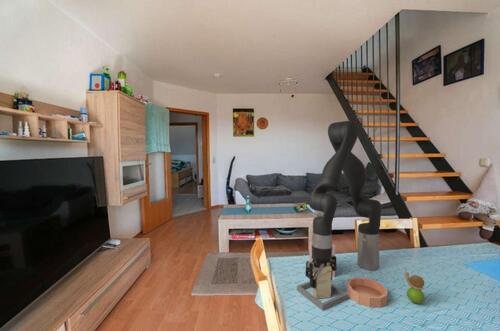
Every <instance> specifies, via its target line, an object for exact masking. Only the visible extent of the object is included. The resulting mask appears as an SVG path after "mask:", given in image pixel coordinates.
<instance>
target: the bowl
mask: <svg viewBox="0 0 500 331" xmlns="http://www.w3.org/2000/svg"><path fill="white" fill-rule="evenodd" d="M346 294H348V297H349V298H350V300H352V301H353V302H355V303H357V304H359V305H362V306H364V307H368V308H383V307H384V306H387V305H388V289H387V288H386V286H384V284H382V283H380V282H378V281H377V280H374V279H370V278H367V277H358V276H357V277H356V276H355V277H352V278H350V279H348V280H347V282H346Z"/></svg>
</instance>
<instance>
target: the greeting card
mask: <svg viewBox="0 0 500 331" xmlns="http://www.w3.org/2000/svg"><path fill="white" fill-rule="evenodd" d="M308 246H309V249H308V250H309V253H308V254H309V256H308V257H309V260H308V261H309V262H312V261H313V256H312V239H311V240H309V245H308ZM332 255H334V256H336V244H334V243H332ZM329 264H330V263H329ZM333 267H334V266H333ZM335 277H336V271H333V273H332V278H335Z"/></svg>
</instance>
